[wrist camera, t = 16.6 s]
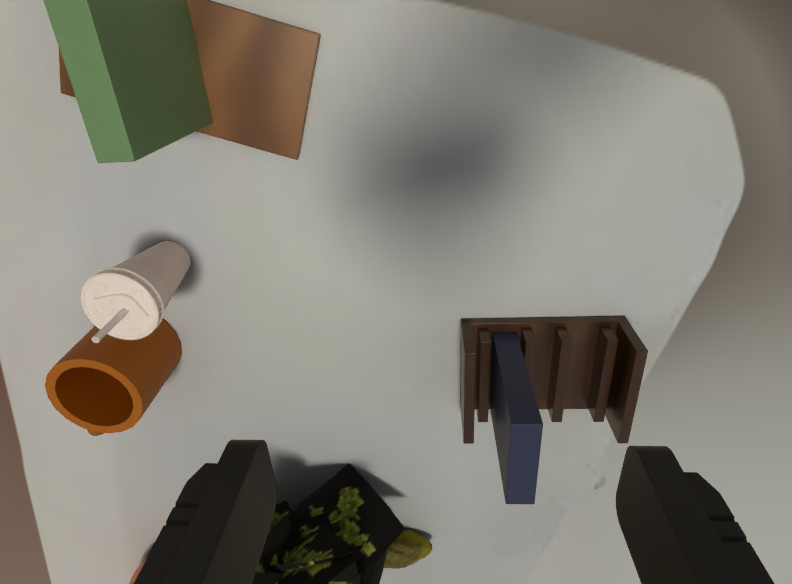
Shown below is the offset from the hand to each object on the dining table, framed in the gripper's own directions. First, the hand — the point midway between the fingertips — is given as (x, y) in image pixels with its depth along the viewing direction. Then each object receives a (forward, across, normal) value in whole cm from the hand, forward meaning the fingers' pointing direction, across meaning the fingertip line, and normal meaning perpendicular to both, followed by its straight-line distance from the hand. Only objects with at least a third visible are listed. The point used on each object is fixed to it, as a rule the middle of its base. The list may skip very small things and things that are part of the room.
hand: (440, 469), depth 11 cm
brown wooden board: (+36, +20, -6) cm, 41 cm away
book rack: (+36, -10, +23) cm, 44 cm away
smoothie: (+36, +26, +11) cm, 45 cm away
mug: (+36, +32, +22) cm, 53 cm away
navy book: (+35, -7, +23) cm, 42 cm away
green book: (+35, +20, -6) cm, 41 cm away
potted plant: (+36, +14, +46) cm, 60 cm away
